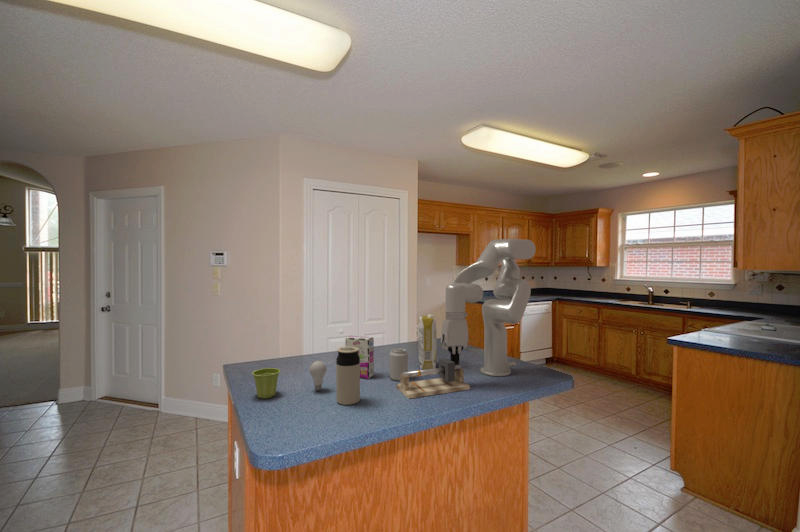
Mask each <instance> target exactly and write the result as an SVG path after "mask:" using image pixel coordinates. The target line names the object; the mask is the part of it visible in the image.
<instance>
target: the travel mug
mask: <svg viewBox="0 0 800 532" xmlns="http://www.w3.org/2000/svg"><path fill="white" fill-rule="evenodd" d="M336 351H337V354H338V355H337V357H336V360H335V361H336V362H335V363H336V370H335V371H336V373H335V375H336V403H338V404H339V405H343V406H350V405H355V404H357V403H359V402H360V400H361V395H360V394H361V378H360V357H359V355H358V351H359V348H357V347H346V346H342V347H338V348H337V349H336Z"/></svg>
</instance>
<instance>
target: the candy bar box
mask: <svg viewBox="0 0 800 532" xmlns="http://www.w3.org/2000/svg"><path fill="white" fill-rule="evenodd" d="M374 341H375V340H374V337H372V336H371V337H370V336H361V335H360V336H357V335H349V336H346V337H345V347H357V348H359V351H358V355H359V357H360V379H366V380H370V379H371V378H373V377H374V375H375V371H374V370H375V365H374V364H375V363H374V361H375V360H374V359H375V357H374V354H375V353H374V350H375V349H374V346H375V345H374V343H375V342H374Z"/></svg>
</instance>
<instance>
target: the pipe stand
mask: <svg viewBox="0 0 800 532" xmlns="http://www.w3.org/2000/svg"><path fill="white" fill-rule="evenodd" d="M464 371H465V369H464V368H462V369H459V370H458V371H455V381H452V382H447V381H445V380H444V379H442V378H440V377H438V378H431V379H429V378H428V379H422V380H415V381H410V377H409V376H404V375H402V374H401V381H400V382H399V383H395V388H396V389H397V390H398V391H399V392H400V393H401V394H402V395H404V396H405V398H407V399H408V400H409V399H410V398H411V399H415V398H422V397H423V396H424V397H430V396H437V395H442V394H443V395H444V394H449V393H455V392H462V391H468V390H470V389H471V385H470V384H468V383H466V382H465V379H464V378H465V377H464V375H465V372H464ZM436 394H437V395H436ZM429 395H430V396H429ZM424 397H423V398H424Z"/></svg>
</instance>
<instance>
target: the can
mask: <svg viewBox="0 0 800 532" xmlns="http://www.w3.org/2000/svg"><path fill="white" fill-rule="evenodd" d="M408 355H409V353H408V352H407V349H405V348H402V347H396V348H395V347H393V348H392V349H391V350H390V352H389V378H390V379H391V380H392V381H395V382H396V381H397V382H401V374H402V373H403V372H409V371H408V370H409V367H408V366H409V365H408V363H409V362H408V361H409V358H408V357H409V356H408Z"/></svg>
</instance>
